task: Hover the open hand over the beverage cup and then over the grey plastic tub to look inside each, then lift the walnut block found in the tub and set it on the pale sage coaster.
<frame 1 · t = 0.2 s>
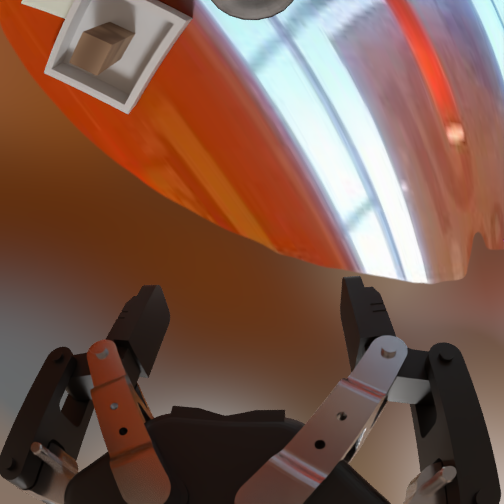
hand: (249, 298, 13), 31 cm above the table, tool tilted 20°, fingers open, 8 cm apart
grey tub: (116, 39, 28), on the table
walnut block: (115, 40, 28), point 1 cm above the table, touching grey tub
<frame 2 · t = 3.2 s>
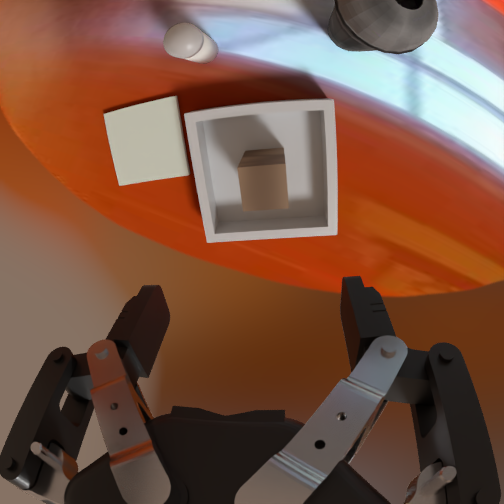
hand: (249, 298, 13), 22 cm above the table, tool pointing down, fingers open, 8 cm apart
sage coaster: (146, 141, 32), on the table
beverage cup: (349, 32, 24), on the table
grey tub: (266, 165, 32), on the table
walnut block: (266, 167, 32), point 1 cm above the table, touching grey tub
salt shaker: (204, 50, 26), on the table
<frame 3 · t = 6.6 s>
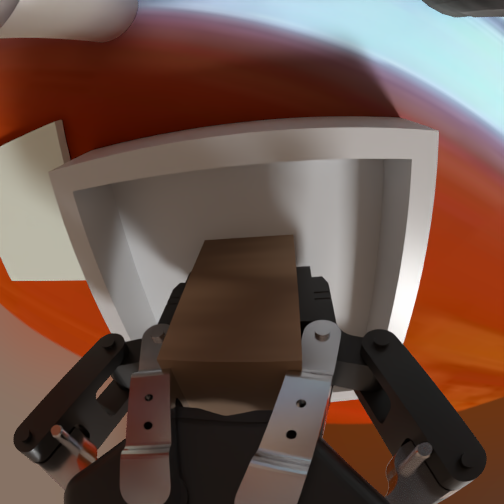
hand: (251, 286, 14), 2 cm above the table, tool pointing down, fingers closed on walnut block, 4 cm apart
sage coaster: (29, 212, 15), on the table
grey tub: (254, 267, 15), on the table
walnut block: (253, 274, 15), point 1 cm above the table, touching grey tub, gripper
salt shaker: (108, 13, 9), on the table
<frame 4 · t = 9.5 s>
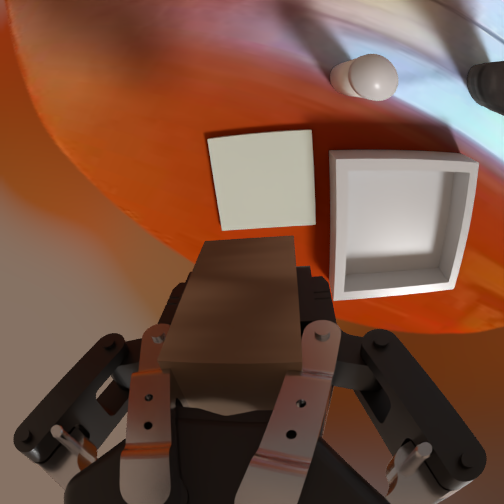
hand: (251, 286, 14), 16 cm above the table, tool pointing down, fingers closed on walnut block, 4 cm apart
sage coaster: (264, 180, 28), on the table
beverage cup: (482, 85, 20), on the table
grey tub: (396, 218, 28), on the table
walnut block: (253, 275, 15), point 15 cm above the table, touching gripper
salt shaker: (346, 79, 22), on the table
when the fingers open (3 cm above the table, at t = 12.4 s): walnut block drops 1 cm, resting on sage coaster.
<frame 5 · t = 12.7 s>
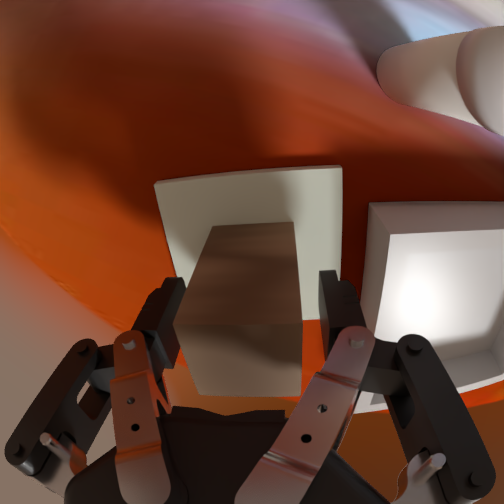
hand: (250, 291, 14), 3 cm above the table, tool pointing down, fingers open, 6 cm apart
sage coaster: (255, 252, 17), on the table
grey tub: (453, 298, 17), on the table
walnut block: (256, 258, 16), point 1 cm above the table, touching sage coaster
salt shaker: (405, 75, 11), on the table
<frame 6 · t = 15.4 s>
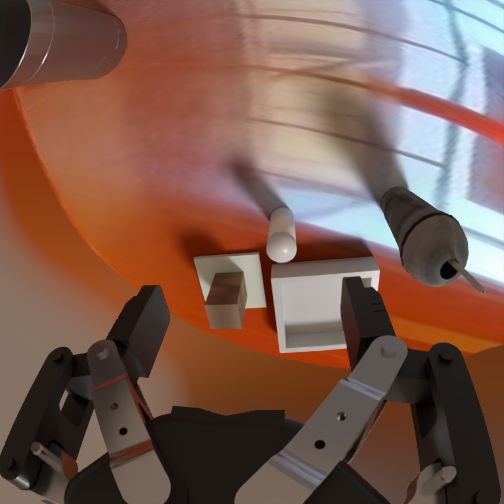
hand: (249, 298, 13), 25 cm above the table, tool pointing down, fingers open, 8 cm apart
sage coaster: (231, 281, 44), on the table
beverage cup: (396, 202, 36), on the table
grey tub: (323, 300, 44), on the table
walnut block: (231, 284, 43), point 1 cm above the table, touching sage coaster
salt shaker: (282, 218, 38), on the table
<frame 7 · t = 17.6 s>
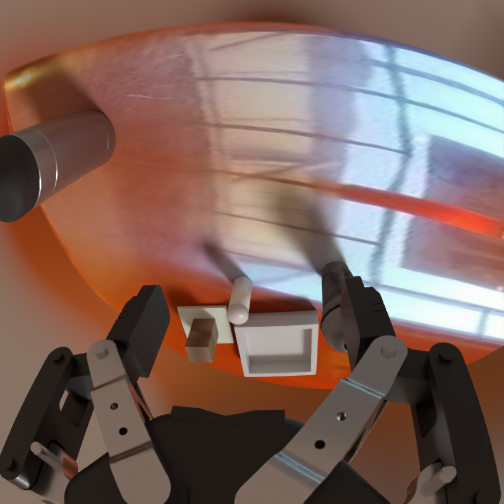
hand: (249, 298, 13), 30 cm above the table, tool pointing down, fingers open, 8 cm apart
sage coaster: (206, 324, 56), on the table
beverage cup: (335, 272, 48), on the table
grey tub: (278, 339, 56), on the table
walnut block: (206, 326, 55), point 1 cm above the table, touching sage coaster
salt shaker: (243, 283, 50), on the table
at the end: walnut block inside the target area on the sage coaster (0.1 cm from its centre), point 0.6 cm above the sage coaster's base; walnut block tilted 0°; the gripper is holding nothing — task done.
